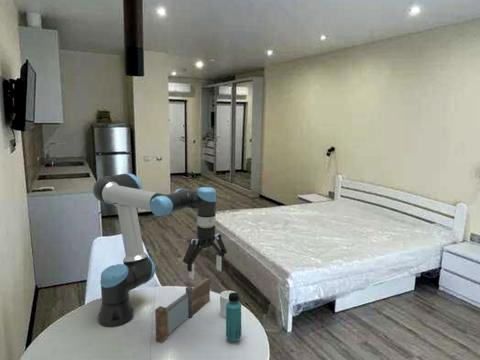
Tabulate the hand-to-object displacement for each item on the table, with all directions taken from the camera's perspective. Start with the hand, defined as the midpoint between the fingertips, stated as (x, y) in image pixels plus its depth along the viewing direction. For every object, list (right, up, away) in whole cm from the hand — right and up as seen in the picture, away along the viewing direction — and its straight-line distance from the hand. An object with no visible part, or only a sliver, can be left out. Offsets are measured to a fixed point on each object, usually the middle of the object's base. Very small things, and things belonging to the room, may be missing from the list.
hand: (205, 274), depth 143 cm
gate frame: (-10, -24, +12) cm, 28 cm away
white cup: (+9, -24, +16) cm, 30 cm away
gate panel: (-13, -24, +5) cm, 28 cm away
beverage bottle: (+12, -27, -3) cm, 29 cm away
